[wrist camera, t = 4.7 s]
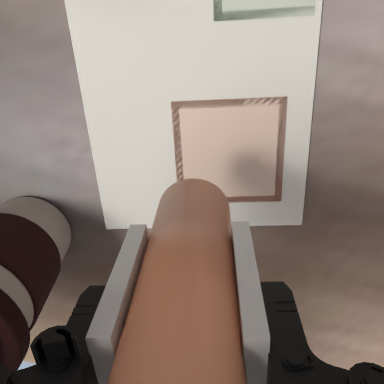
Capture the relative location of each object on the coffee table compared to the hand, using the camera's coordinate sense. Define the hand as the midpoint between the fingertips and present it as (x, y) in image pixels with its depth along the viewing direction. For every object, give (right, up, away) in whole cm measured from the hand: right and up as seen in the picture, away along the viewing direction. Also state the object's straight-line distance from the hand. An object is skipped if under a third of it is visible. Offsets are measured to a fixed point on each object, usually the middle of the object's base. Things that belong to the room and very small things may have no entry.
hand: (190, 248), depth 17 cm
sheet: (0, +11, +11) cm, 16 cm away
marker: (0, +2, +3) cm, 4 cm away
